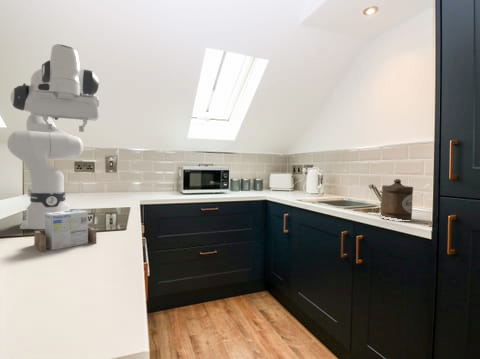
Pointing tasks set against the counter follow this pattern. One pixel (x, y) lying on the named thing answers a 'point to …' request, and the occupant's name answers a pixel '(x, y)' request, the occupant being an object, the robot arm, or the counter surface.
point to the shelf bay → (41, 238)
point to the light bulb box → (66, 229)
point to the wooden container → (397, 201)
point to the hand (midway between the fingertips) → (65, 130)
